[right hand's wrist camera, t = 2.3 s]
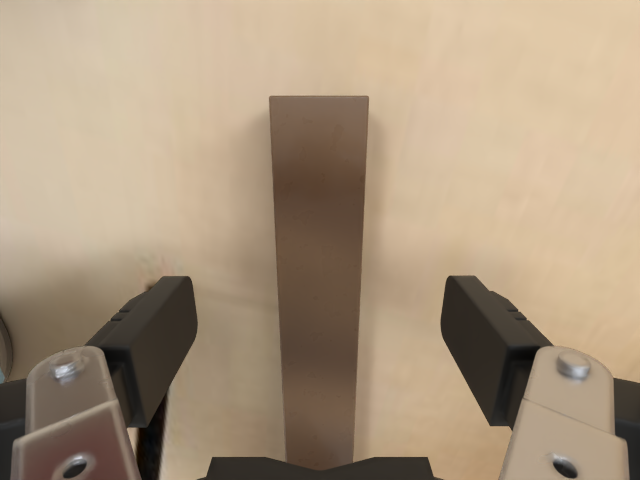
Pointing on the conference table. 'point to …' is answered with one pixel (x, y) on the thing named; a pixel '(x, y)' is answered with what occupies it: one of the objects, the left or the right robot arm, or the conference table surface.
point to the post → (319, 268)
